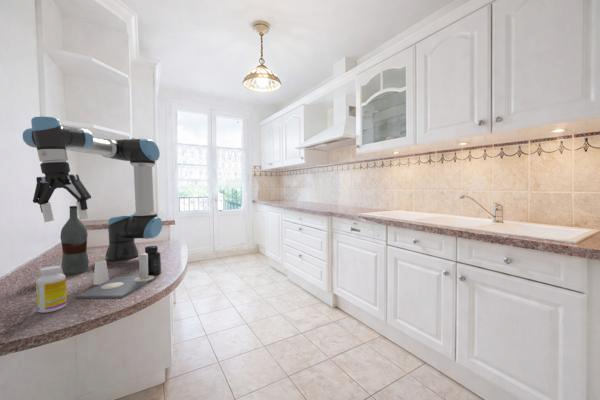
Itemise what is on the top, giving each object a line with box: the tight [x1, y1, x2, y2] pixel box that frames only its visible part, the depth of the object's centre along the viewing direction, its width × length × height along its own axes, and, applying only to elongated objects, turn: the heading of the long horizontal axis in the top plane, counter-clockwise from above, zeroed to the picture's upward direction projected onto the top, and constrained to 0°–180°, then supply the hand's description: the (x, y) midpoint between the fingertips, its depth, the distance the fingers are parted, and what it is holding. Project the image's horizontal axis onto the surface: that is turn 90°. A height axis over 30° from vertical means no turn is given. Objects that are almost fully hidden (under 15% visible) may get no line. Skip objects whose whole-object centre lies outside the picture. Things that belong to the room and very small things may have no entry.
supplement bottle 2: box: [144, 245, 162, 276], centre depth 114 cm, size 7×7×12 cm
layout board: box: [75, 252, 157, 299], centre depth 98 cm, size 20×16×11 cm
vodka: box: [59, 205, 90, 276], centre depth 117 cm, size 9×9×30 cm
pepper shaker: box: [92, 254, 110, 286], centre depth 103 cm, size 5×5×11 cm
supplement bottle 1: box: [35, 265, 68, 314], centre depth 80 cm, size 7×7×13 cm
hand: (66, 220), depth 95 cm, fingers open, 13 cm apart
